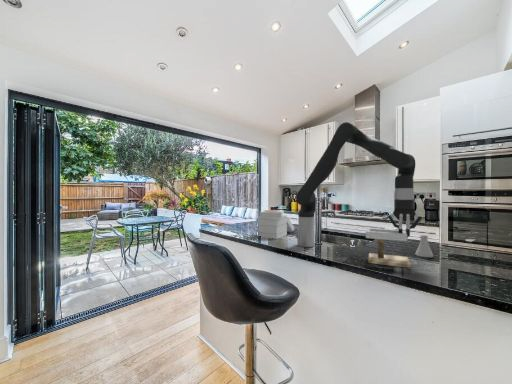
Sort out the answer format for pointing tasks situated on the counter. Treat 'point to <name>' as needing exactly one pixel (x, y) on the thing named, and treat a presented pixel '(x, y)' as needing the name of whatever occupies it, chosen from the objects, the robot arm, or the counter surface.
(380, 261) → the plate
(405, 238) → the shallow rectangular tray
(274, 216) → the paper dispenser
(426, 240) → the flask
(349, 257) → the counter surface
